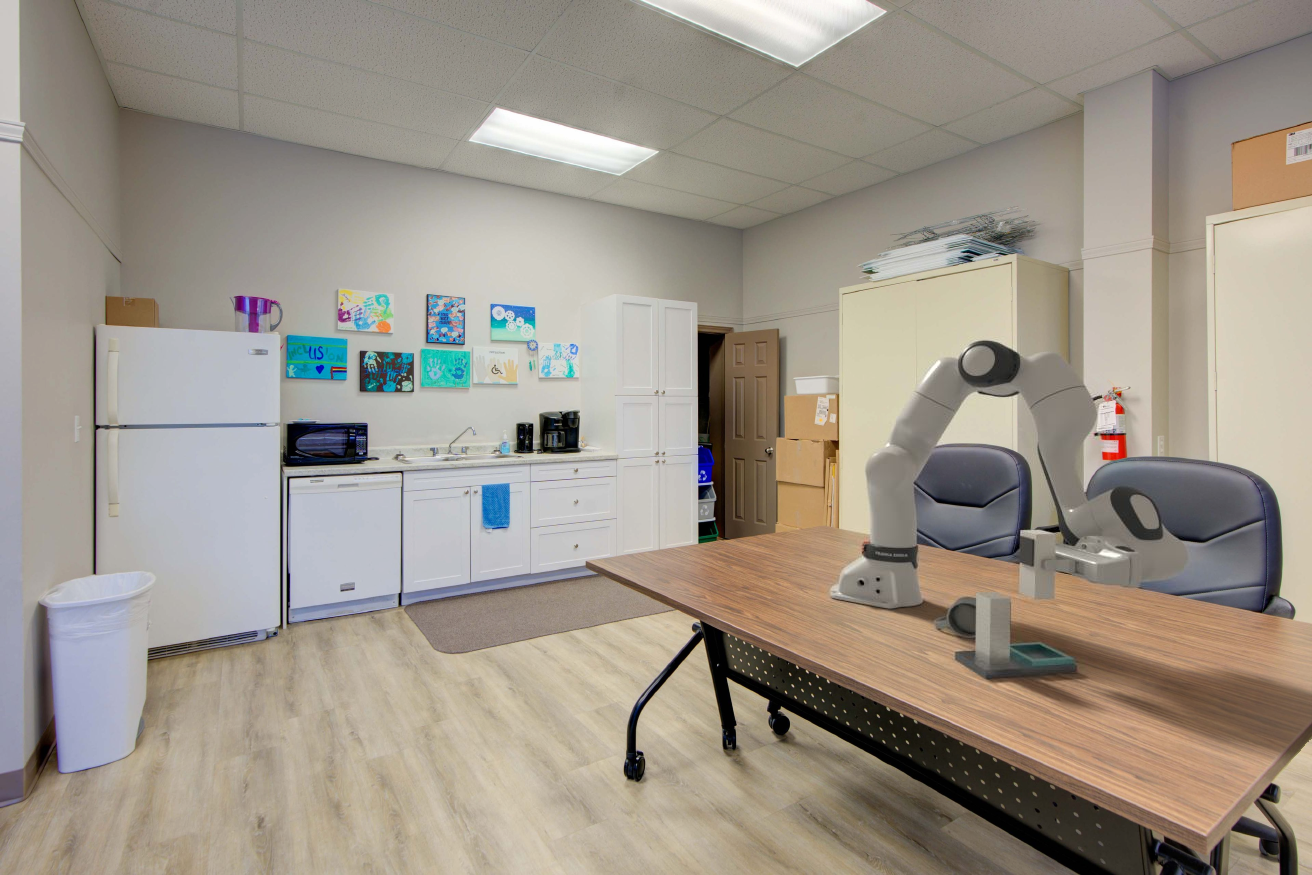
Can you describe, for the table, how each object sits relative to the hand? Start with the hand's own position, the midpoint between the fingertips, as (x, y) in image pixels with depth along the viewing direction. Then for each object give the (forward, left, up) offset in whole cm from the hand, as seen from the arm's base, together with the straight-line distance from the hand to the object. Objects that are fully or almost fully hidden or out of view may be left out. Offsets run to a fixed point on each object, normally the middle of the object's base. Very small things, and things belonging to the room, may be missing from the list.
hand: (1032, 561), depth 116 cm
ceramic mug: (-12, +14, -20) cm, 27 cm away
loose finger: (+1, +1, -7) cm, 7 cm away
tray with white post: (-3, -2, -20) cm, 20 cm away
